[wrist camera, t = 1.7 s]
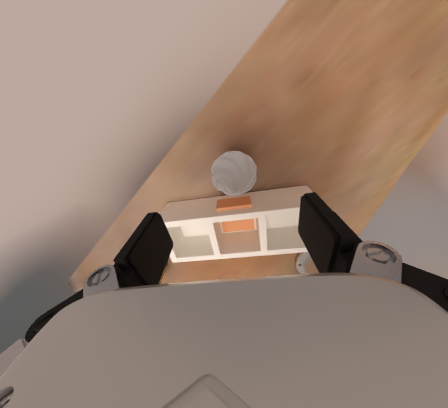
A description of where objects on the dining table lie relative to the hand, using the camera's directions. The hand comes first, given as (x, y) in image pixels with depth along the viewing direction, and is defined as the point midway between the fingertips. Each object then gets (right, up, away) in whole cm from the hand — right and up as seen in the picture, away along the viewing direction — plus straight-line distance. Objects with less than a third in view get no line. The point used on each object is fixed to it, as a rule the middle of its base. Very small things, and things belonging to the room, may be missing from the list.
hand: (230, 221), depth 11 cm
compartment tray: (+2, -1, +24) cm, 24 cm away
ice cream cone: (+1, +10, +17) cm, 20 cm away
